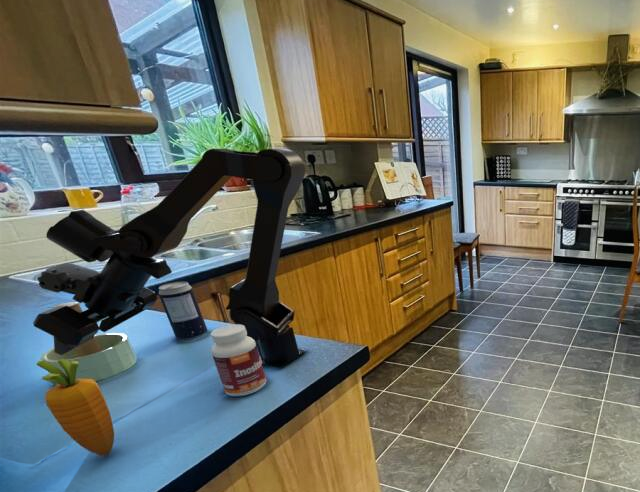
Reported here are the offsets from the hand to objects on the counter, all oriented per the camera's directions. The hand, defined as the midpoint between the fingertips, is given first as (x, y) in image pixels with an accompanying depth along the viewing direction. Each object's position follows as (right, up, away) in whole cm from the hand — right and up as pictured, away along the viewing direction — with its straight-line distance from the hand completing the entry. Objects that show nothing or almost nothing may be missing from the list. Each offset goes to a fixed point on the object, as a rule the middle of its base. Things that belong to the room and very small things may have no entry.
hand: (81, 341), depth 72 cm
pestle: (0, -5, +2) cm, 6 cm away
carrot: (+23, -15, -18) cm, 32 cm away
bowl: (0, -6, +3) cm, 7 cm away
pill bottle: (+32, -8, -3) cm, 33 cm away
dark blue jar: (+7, 0, +16) cm, 18 cm away
